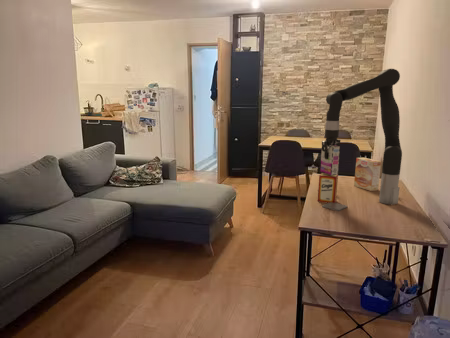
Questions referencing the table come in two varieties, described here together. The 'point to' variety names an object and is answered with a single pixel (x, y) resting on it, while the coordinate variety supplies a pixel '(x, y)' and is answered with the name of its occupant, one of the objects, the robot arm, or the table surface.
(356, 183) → the coffeecake box
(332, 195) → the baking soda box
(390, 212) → the table surface
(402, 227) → the table surface
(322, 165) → the candy bar box
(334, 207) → the slate coaster
